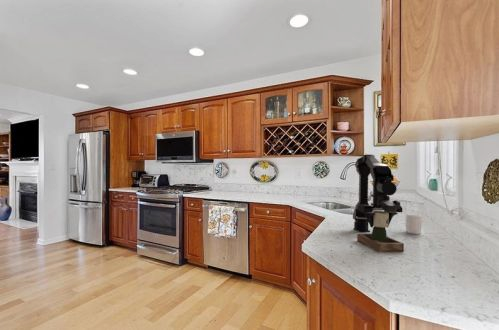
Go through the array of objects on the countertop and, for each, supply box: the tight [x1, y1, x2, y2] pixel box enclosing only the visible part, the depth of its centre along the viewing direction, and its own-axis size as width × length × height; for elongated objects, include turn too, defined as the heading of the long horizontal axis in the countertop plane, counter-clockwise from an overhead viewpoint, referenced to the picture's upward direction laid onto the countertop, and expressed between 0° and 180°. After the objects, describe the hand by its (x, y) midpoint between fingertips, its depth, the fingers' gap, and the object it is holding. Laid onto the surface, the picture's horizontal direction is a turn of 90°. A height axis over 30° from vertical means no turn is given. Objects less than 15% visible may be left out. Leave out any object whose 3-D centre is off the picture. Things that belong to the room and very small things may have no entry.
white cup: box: [404, 212, 423, 235], centre depth 137 cm, size 8×8×10 cm
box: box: [356, 232, 405, 253], centre depth 111 cm, size 12×16×4 cm
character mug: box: [371, 210, 389, 242], centre depth 111 cm, size 11×7×13 cm, turn 161°
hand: (379, 227), depth 111 cm, fingers closed on character mug, 7 cm apart
